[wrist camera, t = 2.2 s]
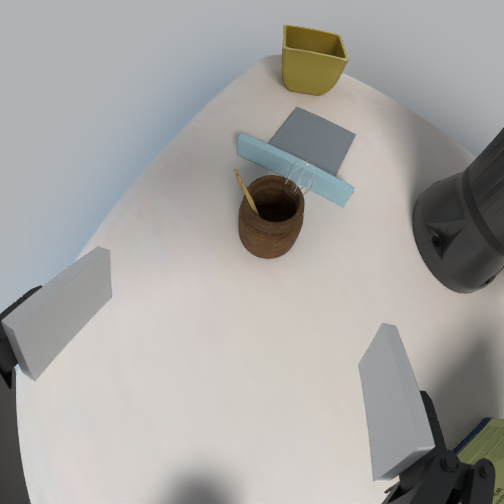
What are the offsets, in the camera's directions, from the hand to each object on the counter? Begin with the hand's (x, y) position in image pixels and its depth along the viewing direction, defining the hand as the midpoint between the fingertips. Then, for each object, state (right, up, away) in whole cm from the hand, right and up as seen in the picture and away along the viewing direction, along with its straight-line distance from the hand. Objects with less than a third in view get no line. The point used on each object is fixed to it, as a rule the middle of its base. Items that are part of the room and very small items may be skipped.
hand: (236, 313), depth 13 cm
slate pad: (+9, +17, +22) cm, 29 cm away
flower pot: (+9, +29, +27) cm, 40 cm away
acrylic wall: (+5, +12, +20) cm, 24 cm away
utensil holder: (+2, +5, +18) cm, 18 cm away
